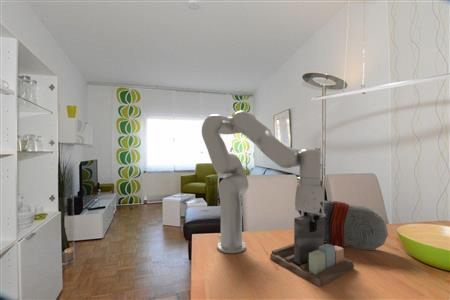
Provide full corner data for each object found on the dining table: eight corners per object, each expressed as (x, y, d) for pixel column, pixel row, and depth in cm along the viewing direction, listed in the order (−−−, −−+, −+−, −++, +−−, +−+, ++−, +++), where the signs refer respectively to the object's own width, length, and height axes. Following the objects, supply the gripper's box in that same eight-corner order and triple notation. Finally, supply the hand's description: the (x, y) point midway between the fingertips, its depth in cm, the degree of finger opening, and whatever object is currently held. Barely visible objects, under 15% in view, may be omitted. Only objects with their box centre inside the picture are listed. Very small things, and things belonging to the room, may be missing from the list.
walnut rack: (270, 258, 90) (270, 251, 90) (303, 247, 101) (303, 240, 101) (319, 286, 72) (319, 277, 72) (353, 268, 82) (353, 260, 82)
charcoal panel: (294, 261, 83) (294, 218, 83) (317, 252, 91) (318, 212, 91) (299, 264, 81) (299, 219, 81) (323, 254, 89) (323, 214, 89)
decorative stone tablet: (312, 199, 105) (391, 212, 92) (313, 197, 111) (387, 208, 98) (308, 241, 105) (386, 259, 93) (309, 236, 111) (383, 253, 98)
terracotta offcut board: (328, 267, 83) (328, 248, 83) (336, 264, 86) (336, 245, 86) (336, 271, 81) (336, 251, 81) (343, 267, 83) (343, 248, 83)
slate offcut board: (319, 271, 80) (318, 246, 80) (327, 268, 83) (327, 243, 83) (326, 275, 78) (326, 249, 78) (335, 271, 80) (334, 246, 80)
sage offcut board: (309, 276, 77) (308, 253, 77) (317, 272, 80) (317, 249, 80) (316, 280, 75) (316, 256, 75) (325, 276, 77) (325, 252, 77)
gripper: (286, 179, 91) (286, 225, 91) (322, 185, 77) (322, 239, 77) (299, 178, 95) (298, 222, 95) (335, 183, 81) (335, 235, 81)
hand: (309, 229), depth 86 cm, fingers closed on charcoal panel, 2 cm apart
